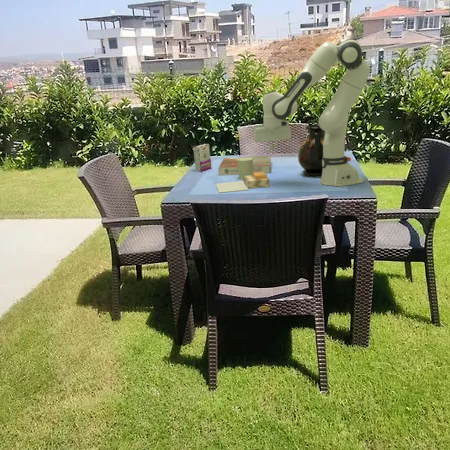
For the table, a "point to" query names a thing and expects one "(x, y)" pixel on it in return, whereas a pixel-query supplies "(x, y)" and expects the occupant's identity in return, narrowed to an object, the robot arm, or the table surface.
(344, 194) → the table surface
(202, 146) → the candy bar box
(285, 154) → the table surface
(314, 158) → the amphora vase
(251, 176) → the cylinder
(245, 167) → the can
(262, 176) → the orange tile
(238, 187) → the cream board
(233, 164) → the pizza box
